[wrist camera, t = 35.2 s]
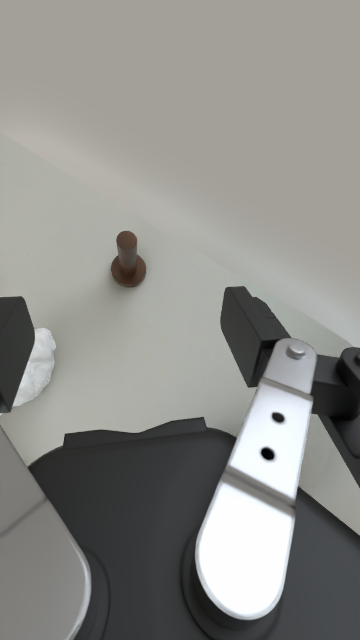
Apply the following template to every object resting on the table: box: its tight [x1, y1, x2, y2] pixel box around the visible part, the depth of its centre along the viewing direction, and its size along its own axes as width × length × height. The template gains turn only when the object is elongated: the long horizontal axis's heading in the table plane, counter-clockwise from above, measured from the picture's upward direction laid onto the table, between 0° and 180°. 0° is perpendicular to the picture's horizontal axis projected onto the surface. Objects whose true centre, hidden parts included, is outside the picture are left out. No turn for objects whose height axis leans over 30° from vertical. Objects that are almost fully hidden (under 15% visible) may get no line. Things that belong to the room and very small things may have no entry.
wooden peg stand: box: [111, 231, 146, 287], centre depth 36 cm, size 5×5×10 cm
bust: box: [0, 328, 56, 416], centre depth 33 cm, size 12×8×11 cm
